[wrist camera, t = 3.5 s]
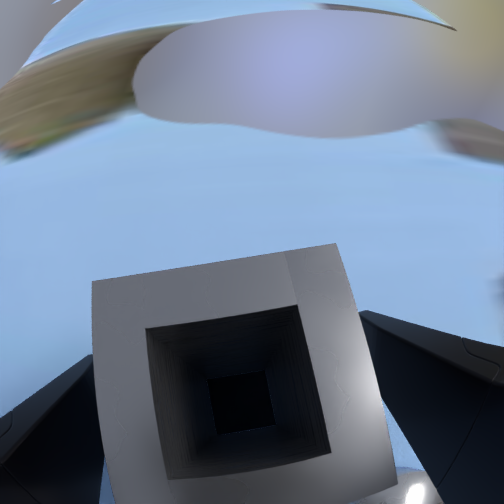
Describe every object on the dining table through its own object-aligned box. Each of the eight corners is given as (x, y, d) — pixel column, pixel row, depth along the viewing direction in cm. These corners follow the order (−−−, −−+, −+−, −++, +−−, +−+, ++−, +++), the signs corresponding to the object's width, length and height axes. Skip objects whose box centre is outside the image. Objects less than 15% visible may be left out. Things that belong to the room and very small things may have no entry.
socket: (303, 440, 13) (397, 484, 4) (198, 458, 12) (123, 530, 4) (282, 344, 15) (335, 243, 6) (181, 360, 15) (92, 281, 6)
